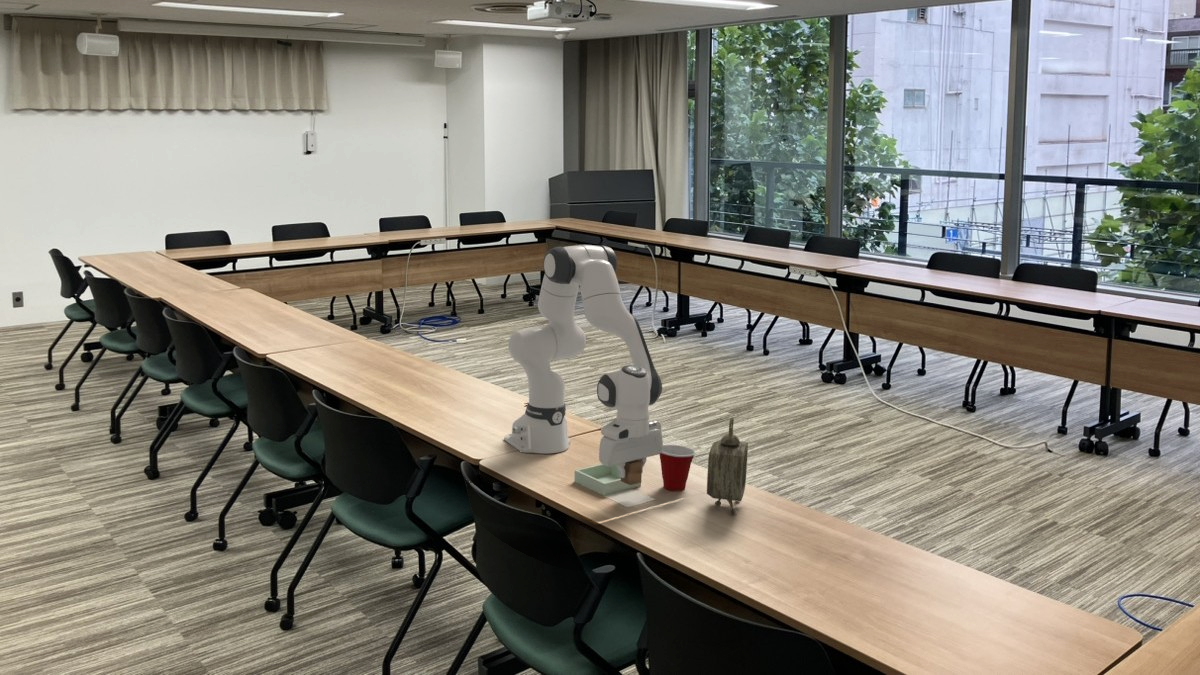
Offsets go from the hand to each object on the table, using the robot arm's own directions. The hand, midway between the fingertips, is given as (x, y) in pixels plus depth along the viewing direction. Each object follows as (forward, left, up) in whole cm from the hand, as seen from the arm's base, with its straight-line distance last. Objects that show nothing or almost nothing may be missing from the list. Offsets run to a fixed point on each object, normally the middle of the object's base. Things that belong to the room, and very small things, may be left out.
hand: (630, 475), depth 279 cm
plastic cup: (+1, +16, -7) cm, 18 cm away
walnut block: (0, 0, -2) cm, 2 cm away
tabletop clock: (+19, +18, -7) cm, 27 cm away
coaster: (0, 0, -7) cm, 7 cm away
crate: (-12, +2, -7) cm, 14 cm away
